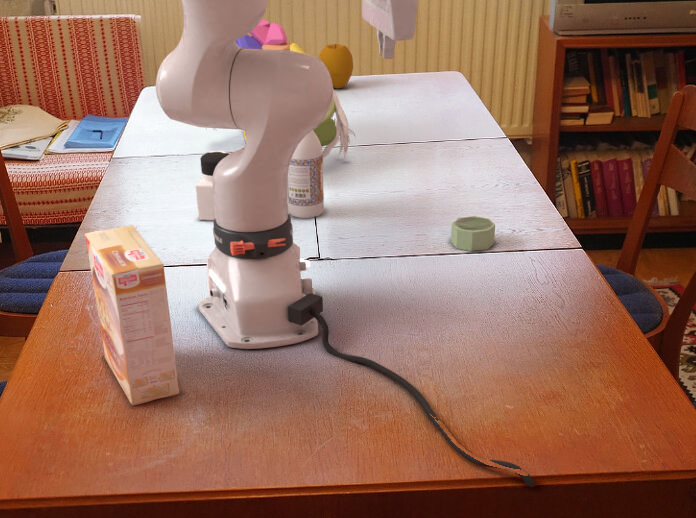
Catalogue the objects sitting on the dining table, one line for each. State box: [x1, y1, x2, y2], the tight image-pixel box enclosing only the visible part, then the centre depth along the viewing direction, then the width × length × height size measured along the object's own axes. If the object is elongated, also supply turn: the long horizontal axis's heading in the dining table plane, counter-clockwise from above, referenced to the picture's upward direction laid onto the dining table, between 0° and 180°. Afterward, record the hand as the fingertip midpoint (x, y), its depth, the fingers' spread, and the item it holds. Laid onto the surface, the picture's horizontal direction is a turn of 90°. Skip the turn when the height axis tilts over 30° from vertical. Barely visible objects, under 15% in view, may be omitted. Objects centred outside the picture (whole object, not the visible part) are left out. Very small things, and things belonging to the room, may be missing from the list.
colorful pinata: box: [212, 18, 357, 160], centre depth 214 cm, size 32×29×35 cm
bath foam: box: [287, 130, 325, 219], centre depth 182 cm, size 7×7×20 cm
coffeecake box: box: [84, 224, 180, 406], centre depth 132 cm, size 15×7×20 cm, turn 23°
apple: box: [318, 42, 354, 89], centre depth 262 cm, size 10×10×12 cm
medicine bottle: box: [195, 150, 231, 222], centre depth 185 cm, size 7×7×12 cm
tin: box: [450, 215, 496, 252], centre depth 171 cm, size 4×7×7 cm
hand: (386, 57), depth 169 cm, fingers closed
